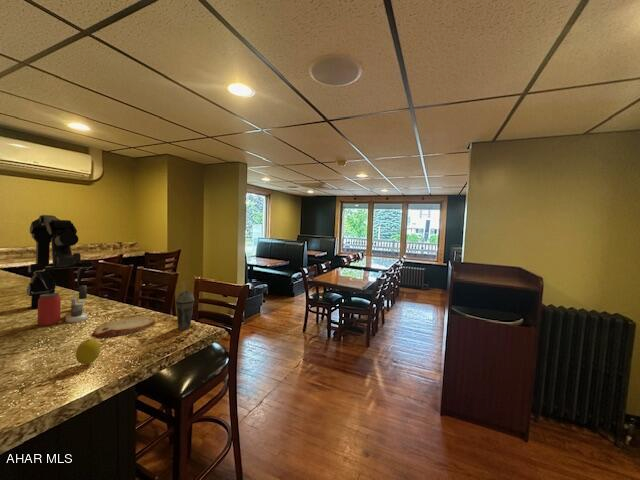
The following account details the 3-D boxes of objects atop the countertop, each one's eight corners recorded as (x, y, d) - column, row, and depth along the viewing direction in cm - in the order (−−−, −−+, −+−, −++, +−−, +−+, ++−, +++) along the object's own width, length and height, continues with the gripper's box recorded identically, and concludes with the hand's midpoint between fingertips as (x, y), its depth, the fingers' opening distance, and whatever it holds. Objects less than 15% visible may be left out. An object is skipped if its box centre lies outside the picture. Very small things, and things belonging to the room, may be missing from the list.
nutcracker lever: (81, 315, 115) (82, 295, 115) (69, 316, 113) (69, 296, 112) (88, 302, 133) (88, 284, 132) (77, 303, 130) (77, 285, 130)
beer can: (64, 321, 113) (65, 293, 113) (47, 327, 107) (47, 297, 106) (50, 320, 114) (51, 292, 113) (32, 325, 107) (33, 295, 107)
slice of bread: (158, 320, 121) (158, 312, 121) (142, 337, 104) (142, 327, 103) (112, 321, 117) (112, 313, 116) (87, 339, 99) (87, 329, 99)
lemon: (85, 360, 84) (85, 335, 84) (104, 360, 84) (104, 335, 84) (70, 369, 78) (70, 342, 78) (90, 370, 79) (91, 343, 79)
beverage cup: (197, 326, 116) (199, 281, 115) (182, 332, 109) (184, 283, 108) (185, 323, 119) (187, 278, 118) (170, 328, 112) (172, 281, 111)
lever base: (71, 317, 118) (71, 313, 118) (90, 317, 120) (90, 312, 120) (61, 323, 111) (61, 318, 111) (81, 322, 113) (81, 317, 113)
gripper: (32, 247, 99) (34, 289, 98) (96, 246, 114) (98, 282, 113) (27, 251, 105) (29, 291, 104) (88, 249, 121) (90, 284, 119)
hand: (63, 287), depth 110 cm, fingers open, 9 cm apart
